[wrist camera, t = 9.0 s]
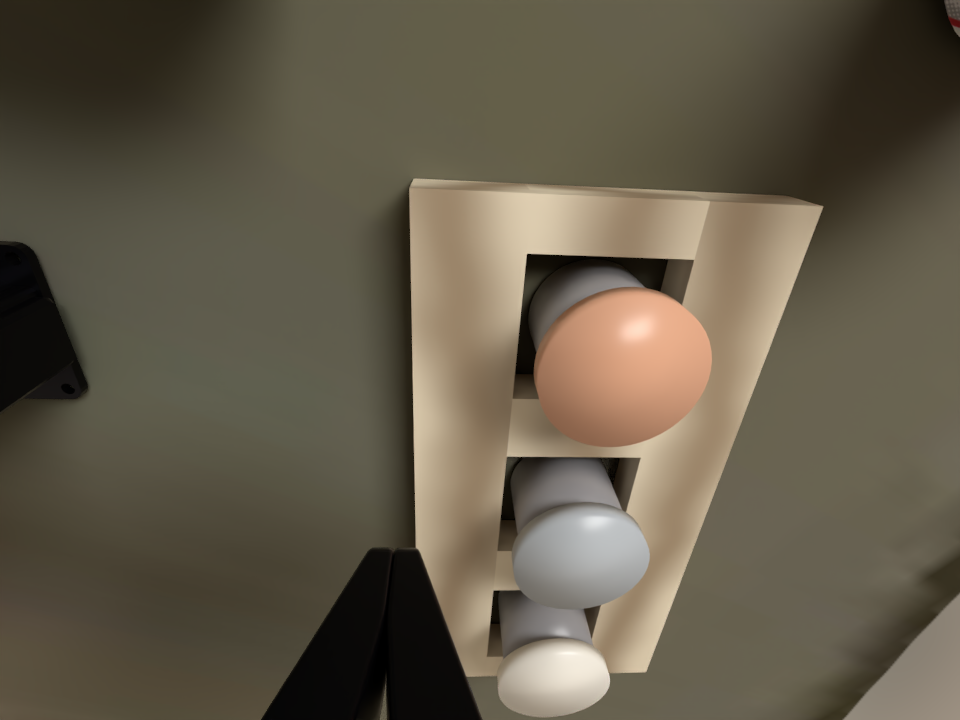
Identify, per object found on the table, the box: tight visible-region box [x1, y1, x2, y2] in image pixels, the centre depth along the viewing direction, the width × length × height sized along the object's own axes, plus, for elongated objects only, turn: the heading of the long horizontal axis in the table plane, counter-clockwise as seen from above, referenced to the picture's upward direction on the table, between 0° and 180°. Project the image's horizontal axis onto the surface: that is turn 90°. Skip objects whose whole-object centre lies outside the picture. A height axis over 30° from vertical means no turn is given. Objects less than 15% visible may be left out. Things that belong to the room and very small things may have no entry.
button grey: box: [510, 457, 650, 610], centre depth 22 cm, size 6×6×5 cm
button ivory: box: [497, 590, 610, 717], centre depth 26 cm, size 6×6×5 cm
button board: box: [409, 179, 823, 677], centre depth 23 cm, size 14×28×2 cm, turn 177°
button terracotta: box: [528, 259, 712, 447], centre depth 18 cm, size 6×6×5 cm
